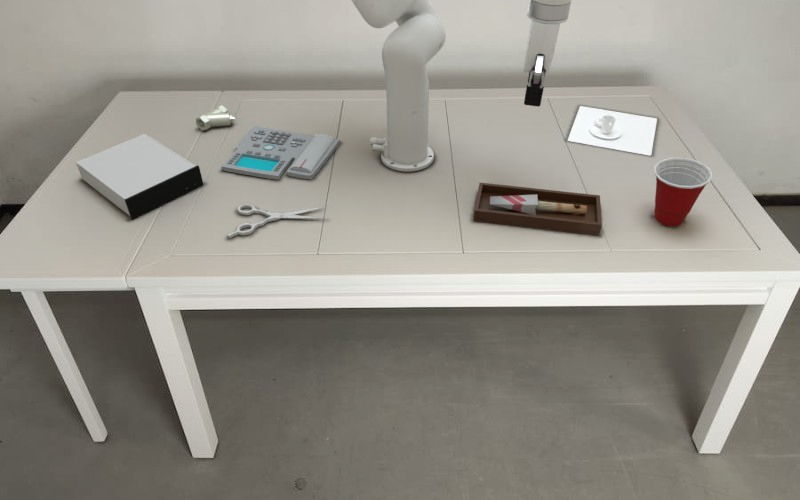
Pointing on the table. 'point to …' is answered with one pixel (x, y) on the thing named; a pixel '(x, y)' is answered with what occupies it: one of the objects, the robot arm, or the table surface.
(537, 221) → the tray
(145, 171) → the disc drive
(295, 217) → the scissors
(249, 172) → the office telephone
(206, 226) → the table surface
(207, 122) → the pipe fitting
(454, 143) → the table surface
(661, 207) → the plastic cup
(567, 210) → the paintbrush
